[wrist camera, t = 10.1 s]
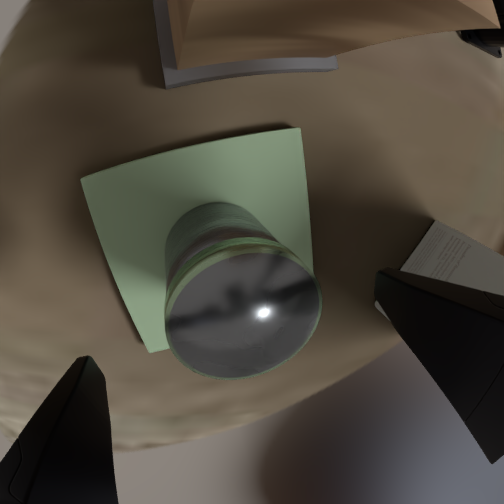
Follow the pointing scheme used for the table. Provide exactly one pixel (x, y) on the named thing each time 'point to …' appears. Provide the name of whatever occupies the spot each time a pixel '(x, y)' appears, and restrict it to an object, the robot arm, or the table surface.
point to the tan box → (293, 32)
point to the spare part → (235, 294)
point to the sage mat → (188, 197)
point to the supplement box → (456, 261)
